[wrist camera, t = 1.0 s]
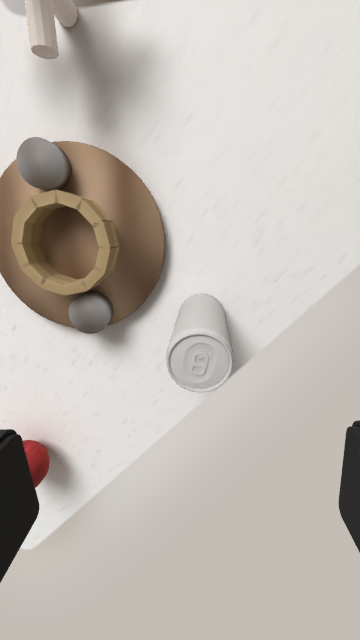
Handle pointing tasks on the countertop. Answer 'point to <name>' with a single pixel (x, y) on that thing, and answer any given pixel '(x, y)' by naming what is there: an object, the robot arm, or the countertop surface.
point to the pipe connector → (48, 24)
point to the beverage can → (200, 345)
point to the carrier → (78, 234)
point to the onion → (36, 460)
